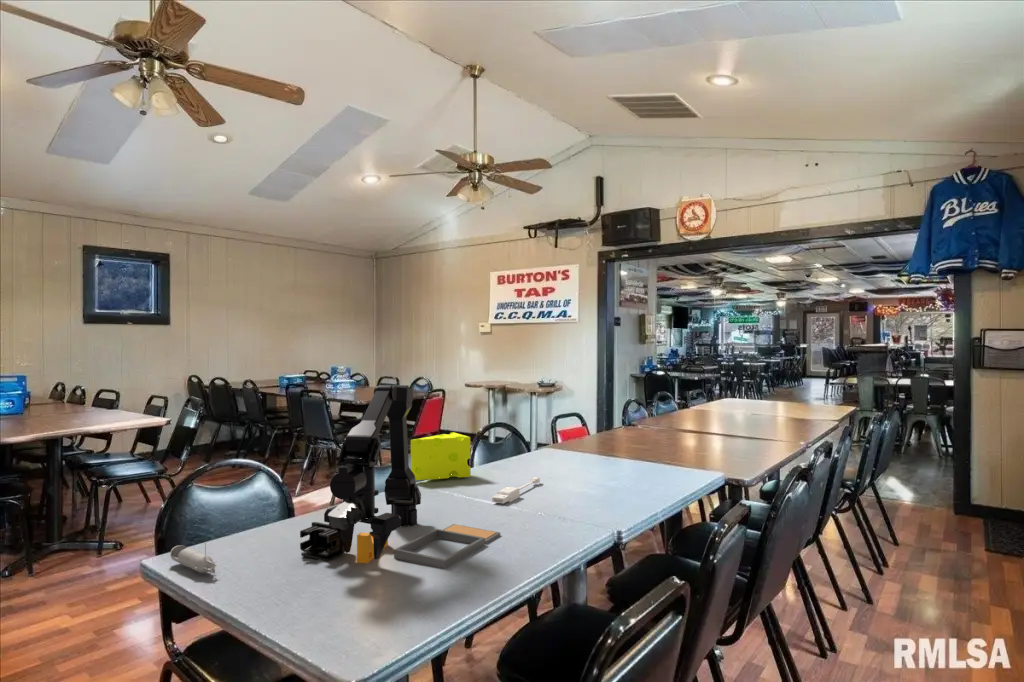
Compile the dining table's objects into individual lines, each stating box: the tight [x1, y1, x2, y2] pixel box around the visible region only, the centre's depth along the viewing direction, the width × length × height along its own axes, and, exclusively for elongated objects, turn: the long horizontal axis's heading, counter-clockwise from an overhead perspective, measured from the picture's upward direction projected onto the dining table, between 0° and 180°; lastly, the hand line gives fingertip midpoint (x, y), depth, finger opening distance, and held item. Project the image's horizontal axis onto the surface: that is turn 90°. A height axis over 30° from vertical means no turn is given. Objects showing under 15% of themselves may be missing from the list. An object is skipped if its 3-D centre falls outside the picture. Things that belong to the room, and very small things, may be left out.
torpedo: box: [169, 542, 219, 575], centre depth 130 cm, size 18×5×7 cm, turn 55°
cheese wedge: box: [410, 431, 472, 481], centre depth 216 cm, size 19×20×15 cm
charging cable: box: [491, 476, 541, 504], centre depth 192 cm, size 5×31×3 cm, turn 153°
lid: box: [442, 523, 501, 545], centre depth 149 cm, size 15×7×1 cm, turn 61°
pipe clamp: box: [356, 532, 389, 564], centre depth 138 cm, size 12×4×6 cm, turn 170°
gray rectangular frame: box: [393, 528, 486, 570], centre depth 138 cm, size 15×17×2 cm
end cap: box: [299, 521, 346, 562], centre depth 138 cm, size 10×7×7 cm
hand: (362, 555), depth 132 cm, fingers open, 8 cm apart
